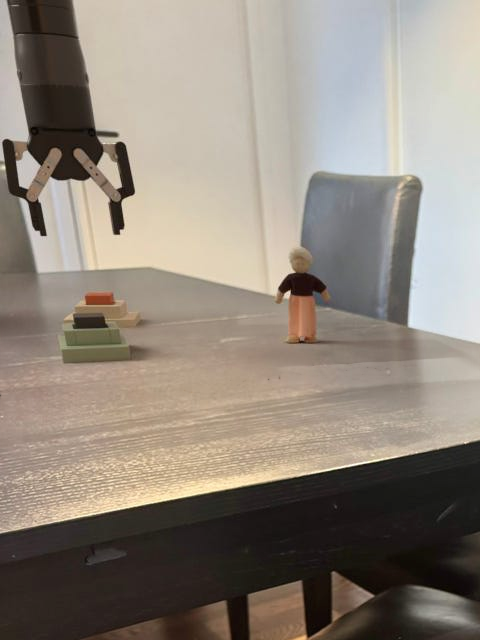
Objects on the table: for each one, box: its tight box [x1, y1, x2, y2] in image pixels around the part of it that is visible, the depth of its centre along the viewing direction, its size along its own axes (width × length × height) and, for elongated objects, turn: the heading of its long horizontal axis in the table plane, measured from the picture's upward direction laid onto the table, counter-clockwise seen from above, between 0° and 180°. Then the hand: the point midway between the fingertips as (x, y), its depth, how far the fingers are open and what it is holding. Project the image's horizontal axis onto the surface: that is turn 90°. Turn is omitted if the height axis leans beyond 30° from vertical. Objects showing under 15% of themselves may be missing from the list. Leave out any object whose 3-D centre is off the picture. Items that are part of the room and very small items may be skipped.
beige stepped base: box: [62, 300, 142, 329], centre depth 140 cm, size 10×8×3 cm
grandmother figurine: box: [274, 245, 331, 344], centre depth 128 cm, size 8×4×13 cm, turn 114°
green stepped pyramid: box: [57, 321, 132, 364], centre depth 118 cm, size 11×8×4 cm
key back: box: [84, 292, 115, 305], centre depth 139 cm, size 4×4×2 cm
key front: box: [73, 313, 106, 329], centre depth 117 cm, size 4×4×2 cm
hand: (80, 235), depth 114 cm, fingers open, 8 cm apart
